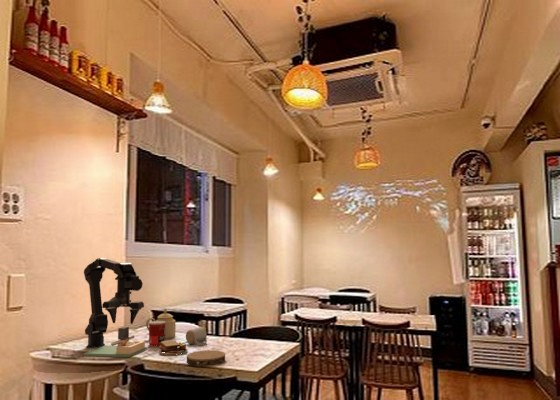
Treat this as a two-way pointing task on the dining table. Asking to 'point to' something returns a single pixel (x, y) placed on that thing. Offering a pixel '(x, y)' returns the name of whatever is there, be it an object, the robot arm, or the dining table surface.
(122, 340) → the kicker rod
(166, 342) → the toy sandwich meal
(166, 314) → the cream teapot
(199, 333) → the ceramic mug
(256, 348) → the dining table surface
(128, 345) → the ball
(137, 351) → the pitch
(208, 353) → the brown round disc
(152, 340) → the canned food
